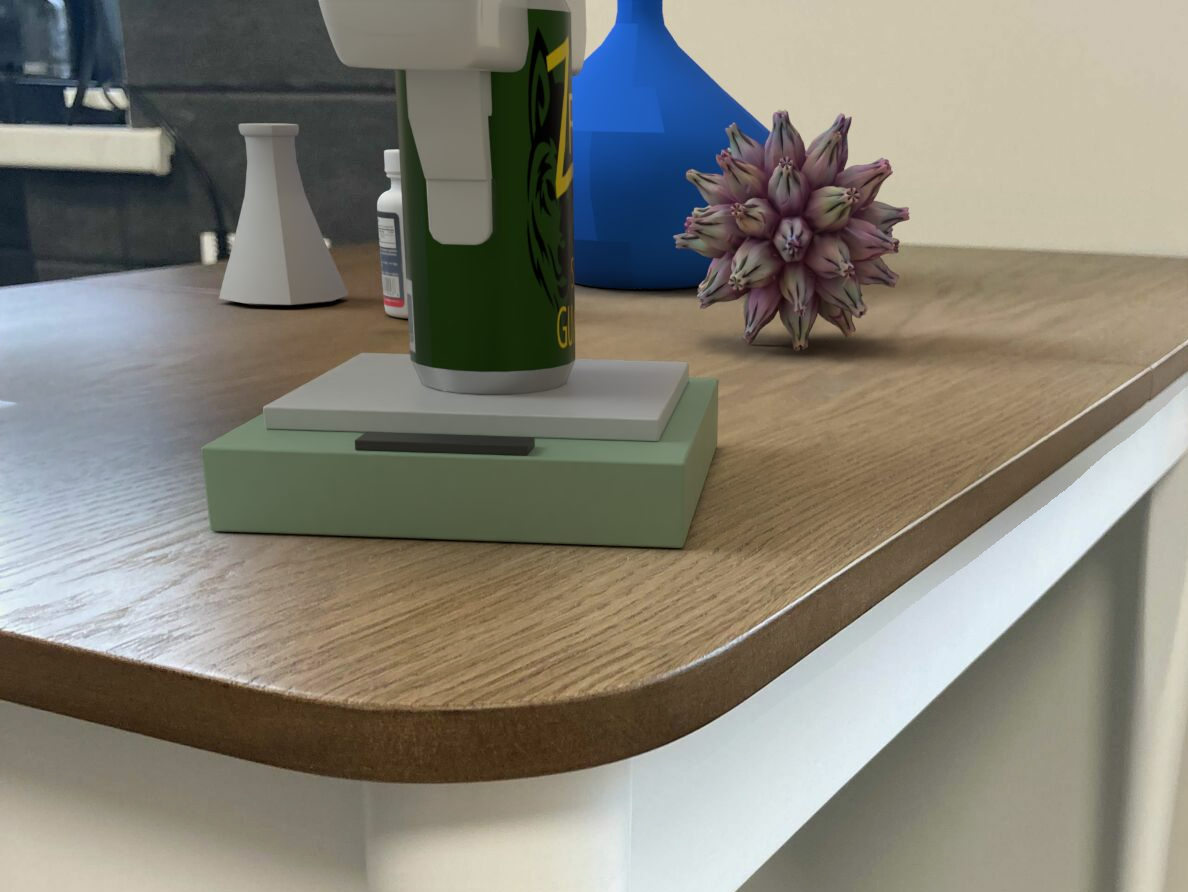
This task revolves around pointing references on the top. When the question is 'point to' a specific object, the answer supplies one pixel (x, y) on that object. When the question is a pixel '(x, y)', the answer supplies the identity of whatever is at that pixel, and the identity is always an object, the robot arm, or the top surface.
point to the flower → (792, 229)
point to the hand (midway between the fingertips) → (488, 233)
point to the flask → (277, 229)
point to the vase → (644, 153)
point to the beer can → (502, 236)
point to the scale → (472, 457)
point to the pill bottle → (392, 240)
